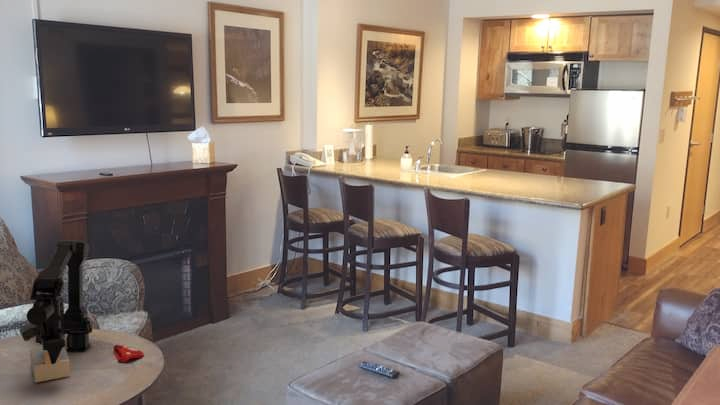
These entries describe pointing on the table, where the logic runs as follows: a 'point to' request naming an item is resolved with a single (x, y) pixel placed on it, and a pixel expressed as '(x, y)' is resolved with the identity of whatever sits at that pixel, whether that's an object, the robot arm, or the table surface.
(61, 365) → the beige open box
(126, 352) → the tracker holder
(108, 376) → the table surface
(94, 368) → the table surface
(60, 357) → the sleeve
